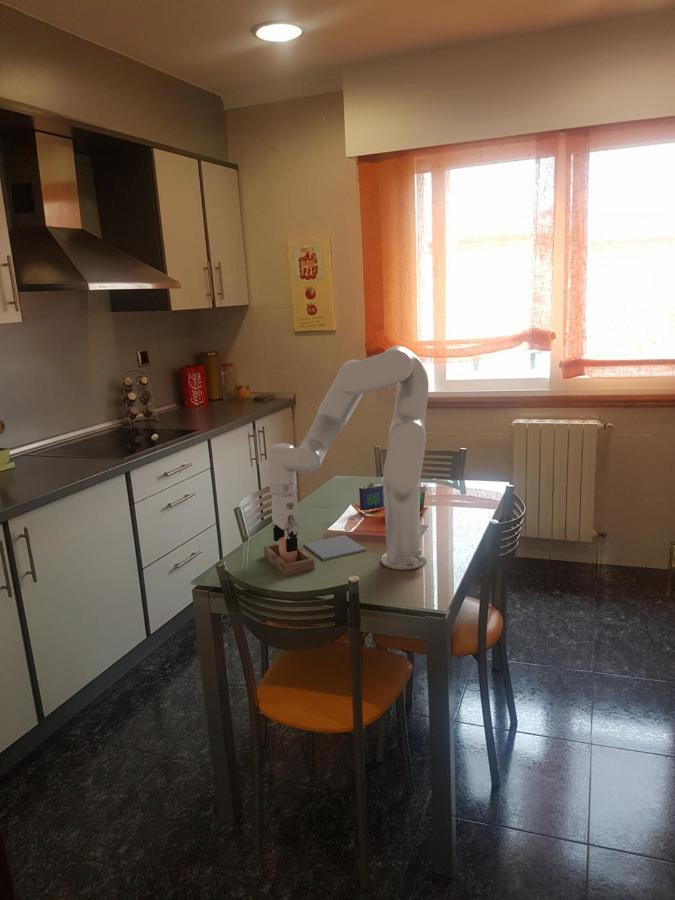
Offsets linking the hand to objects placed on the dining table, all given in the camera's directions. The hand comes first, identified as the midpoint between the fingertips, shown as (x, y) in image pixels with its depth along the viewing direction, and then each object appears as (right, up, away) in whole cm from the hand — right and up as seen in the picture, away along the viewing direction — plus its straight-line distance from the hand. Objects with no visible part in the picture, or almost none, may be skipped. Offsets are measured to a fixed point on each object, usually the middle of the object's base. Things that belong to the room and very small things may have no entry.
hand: (285, 545), depth 187 cm
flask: (+27, +6, +44) cm, 52 cm away
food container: (+39, +5, +38) cm, 54 cm away
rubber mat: (+14, -2, +10) cm, 18 cm away
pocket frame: (+1, -5, +1) cm, 5 cm away
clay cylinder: (+1, -5, +1) cm, 5 cm away
